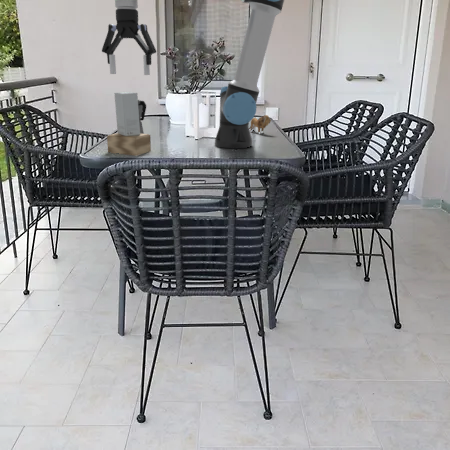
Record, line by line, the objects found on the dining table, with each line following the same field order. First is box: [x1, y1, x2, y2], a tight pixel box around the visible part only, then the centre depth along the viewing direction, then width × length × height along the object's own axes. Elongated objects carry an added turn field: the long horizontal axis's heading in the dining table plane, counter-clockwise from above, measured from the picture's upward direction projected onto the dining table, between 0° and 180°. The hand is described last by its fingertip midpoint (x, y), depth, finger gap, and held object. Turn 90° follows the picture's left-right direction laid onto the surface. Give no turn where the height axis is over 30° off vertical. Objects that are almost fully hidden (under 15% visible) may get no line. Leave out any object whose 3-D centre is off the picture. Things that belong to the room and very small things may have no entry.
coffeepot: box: [138, 99, 147, 134], centre depth 206 cm, size 15×9×18 cm, turn 49°
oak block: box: [106, 132, 152, 157], centre depth 174 cm, size 12×10×6 cm
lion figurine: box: [249, 114, 272, 133], centre depth 228 cm, size 15×5×9 cm, turn 40°
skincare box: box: [114, 91, 140, 136], centre depth 171 cm, size 8×6×15 cm
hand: (129, 74), depth 169 cm, fingers open, 13 cm apart
